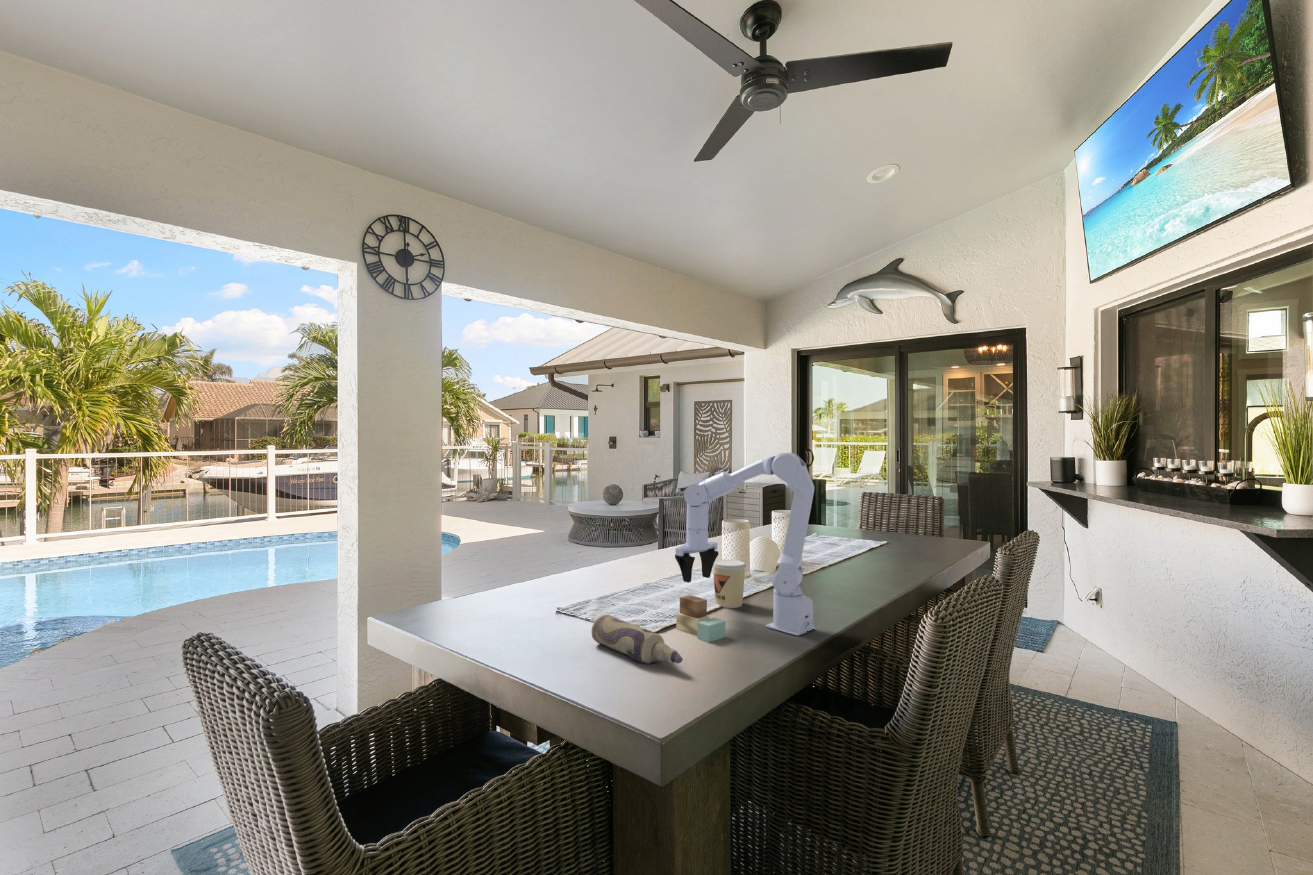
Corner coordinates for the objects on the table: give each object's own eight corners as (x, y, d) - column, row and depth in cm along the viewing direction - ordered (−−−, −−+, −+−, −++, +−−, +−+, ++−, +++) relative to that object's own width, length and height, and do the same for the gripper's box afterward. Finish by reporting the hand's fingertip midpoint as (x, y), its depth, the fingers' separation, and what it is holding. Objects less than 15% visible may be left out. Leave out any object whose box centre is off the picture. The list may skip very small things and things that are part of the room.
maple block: (709, 632, 147) (709, 615, 147) (697, 636, 144) (698, 619, 144) (688, 625, 152) (688, 610, 152) (676, 629, 149) (676, 613, 149)
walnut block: (706, 615, 147) (706, 599, 147) (696, 618, 145) (697, 602, 145) (689, 610, 152) (689, 594, 152) (679, 613, 149) (679, 597, 149)
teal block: (714, 633, 146) (714, 617, 146) (725, 637, 143) (725, 620, 143) (697, 639, 142) (697, 622, 142) (708, 642, 139) (708, 625, 139)
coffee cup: (706, 601, 174) (706, 560, 174) (733, 598, 178) (734, 558, 178) (723, 610, 166) (723, 567, 166) (751, 606, 170) (751, 564, 170)
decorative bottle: (588, 646, 136) (589, 617, 136) (614, 639, 141) (615, 611, 141) (665, 680, 117) (666, 646, 117) (692, 671, 122) (693, 638, 122)
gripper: (704, 524, 168) (703, 573, 168) (667, 529, 158) (666, 581, 158) (723, 527, 163) (723, 577, 162) (686, 532, 153) (686, 585, 152)
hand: (696, 579), depth 160 cm, fingers open, 7 cm apart
